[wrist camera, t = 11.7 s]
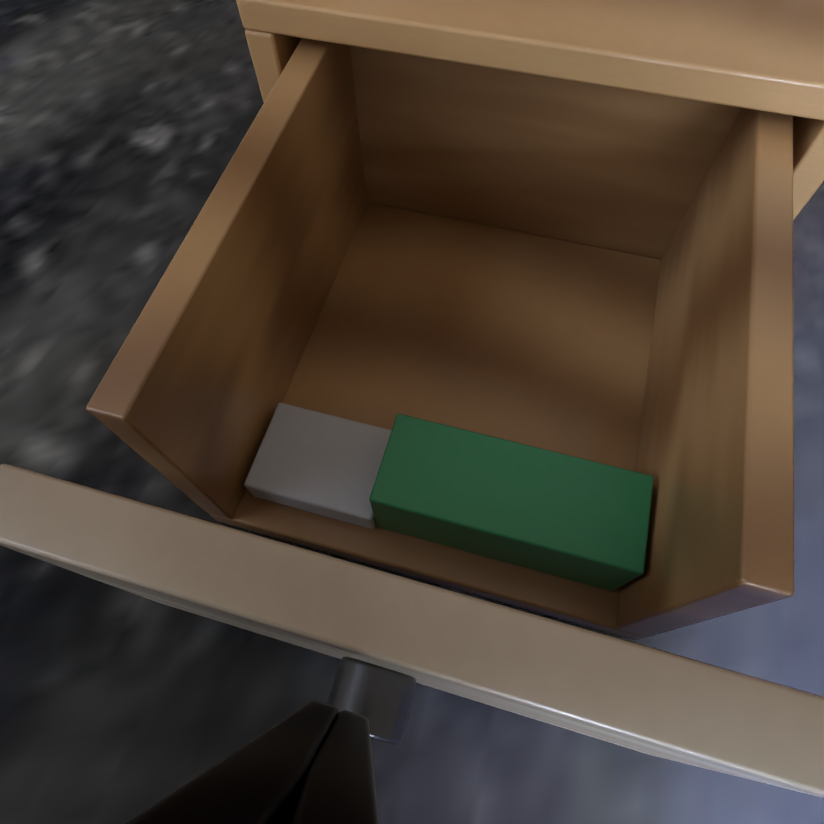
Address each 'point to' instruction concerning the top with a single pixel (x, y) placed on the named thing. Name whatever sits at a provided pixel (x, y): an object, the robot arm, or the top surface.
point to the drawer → (475, 392)
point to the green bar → (461, 492)
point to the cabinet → (590, 48)
